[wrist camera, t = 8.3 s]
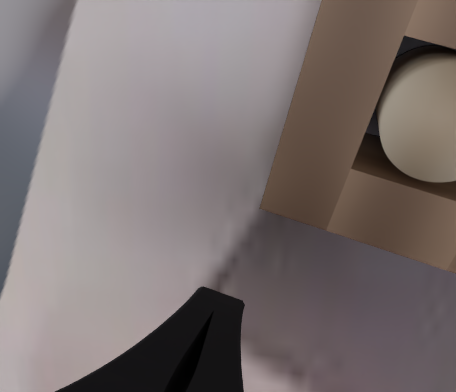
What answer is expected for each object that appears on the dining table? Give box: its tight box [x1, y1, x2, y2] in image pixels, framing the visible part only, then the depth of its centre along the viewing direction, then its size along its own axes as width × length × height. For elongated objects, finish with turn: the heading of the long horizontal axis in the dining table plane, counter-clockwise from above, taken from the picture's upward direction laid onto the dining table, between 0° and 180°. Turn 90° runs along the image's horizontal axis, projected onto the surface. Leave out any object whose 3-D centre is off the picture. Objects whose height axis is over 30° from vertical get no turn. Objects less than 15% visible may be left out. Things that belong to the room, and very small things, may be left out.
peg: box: [375, 46, 456, 182], centre depth 16 cm, size 4×4×4 cm
